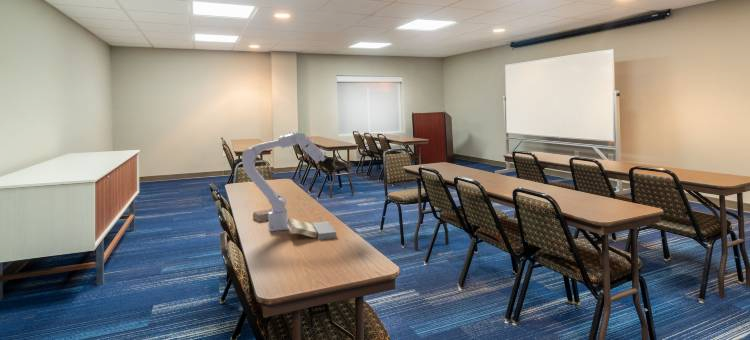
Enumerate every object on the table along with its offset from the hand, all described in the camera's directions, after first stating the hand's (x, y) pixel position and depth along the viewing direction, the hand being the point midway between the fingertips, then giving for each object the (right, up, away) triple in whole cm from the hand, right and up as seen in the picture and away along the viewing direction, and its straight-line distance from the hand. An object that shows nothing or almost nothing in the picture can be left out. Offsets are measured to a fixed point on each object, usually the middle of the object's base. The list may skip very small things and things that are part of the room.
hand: (332, 170), depth 215 cm
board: (-3, -30, -8) cm, 31 cm away
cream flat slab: (-14, -29, -12) cm, 34 cm away
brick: (-37, -27, +22) cm, 51 cm away
